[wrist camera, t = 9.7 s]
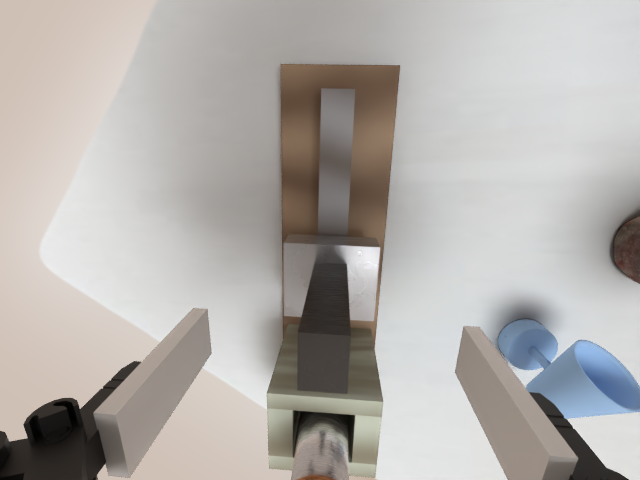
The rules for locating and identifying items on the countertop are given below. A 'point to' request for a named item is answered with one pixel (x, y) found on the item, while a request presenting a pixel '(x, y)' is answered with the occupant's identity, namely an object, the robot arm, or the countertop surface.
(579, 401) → the spotlight
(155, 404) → the robot arm
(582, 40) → the countertop surface
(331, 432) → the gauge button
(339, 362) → the carriage
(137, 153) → the countertop surface
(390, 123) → the rail
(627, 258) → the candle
